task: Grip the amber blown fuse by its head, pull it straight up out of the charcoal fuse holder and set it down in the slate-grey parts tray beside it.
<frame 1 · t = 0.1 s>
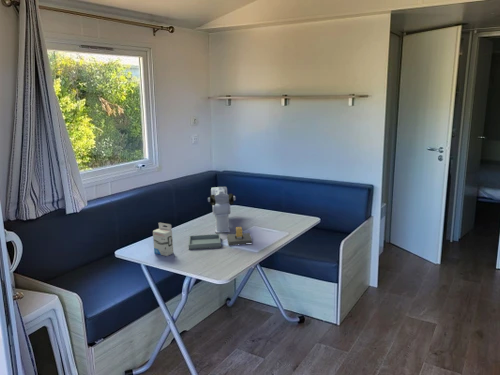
hand: (222, 201, 225), 22 cm above the table, tool horizontal, fingers open, 7 cm apart
fuse holder: (239, 240, 230), on the table
parts tray: (204, 243, 227), on the table
fuse: (239, 234, 229), in the fuse holder
ink box: (164, 253, 216), on the table
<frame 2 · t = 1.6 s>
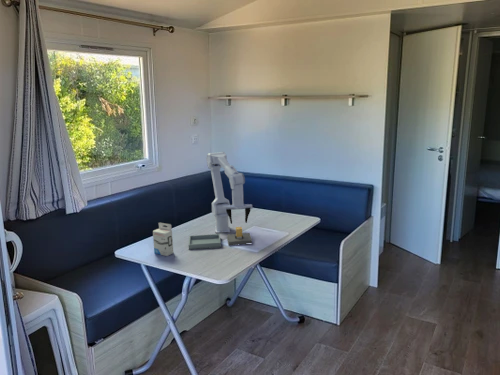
hand: (238, 222, 228), 10 cm above the table, tool pointing down, fingers open, 7 cm apart
nothing on the table moved.
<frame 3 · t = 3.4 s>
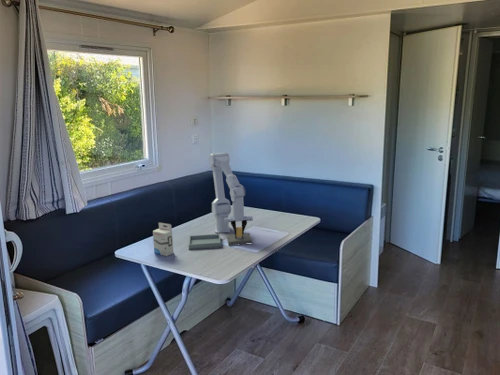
hand: (239, 234, 229), 3 cm above the table, tool pointing down, fingers closed on fuse, 3 cm apart
fuse: (239, 234, 229), in the fuse holder, touching gripper
everything else where it was.
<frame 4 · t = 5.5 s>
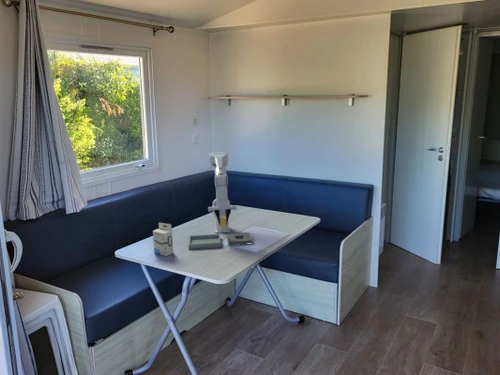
hand: (223, 223, 227), 10 cm above the table, tool pointing down, fingers closed on fuse, 3 cm apart
fuse: (223, 224, 227), point 10 cm above the table, touching gripper
everything else where it was.
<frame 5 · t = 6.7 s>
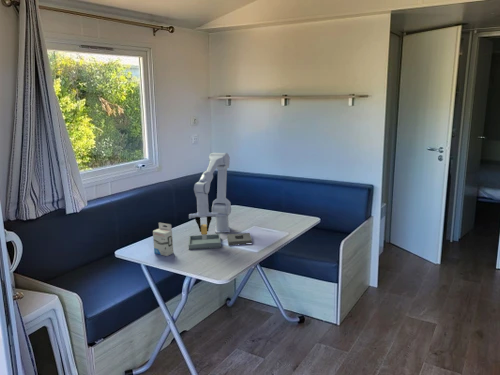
hand: (204, 231, 226), 7 cm above the table, tool pointing down, fingers closed on fuse, 3 cm apart
fuse: (204, 232, 225), point 6 cm above the table, touching gripper
everything else where it was.
when the fingers open (5 cm above the table, at t = 7.7 s): fuse stays where it is, resting on parts tray.
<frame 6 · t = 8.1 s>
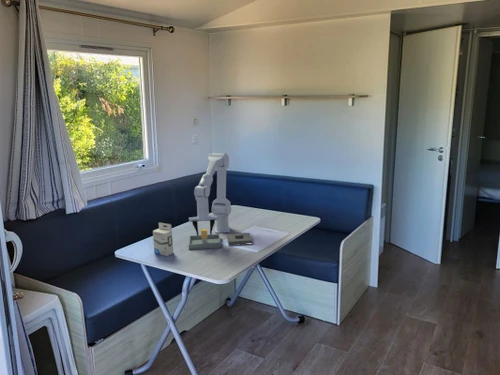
hand: (204, 234, 226), 5 cm above the table, tool pointing down, fingers open, 6 cm apart
fuse: (204, 236, 226), in the parts tray, point 4 cm above the table
everything else where it was.
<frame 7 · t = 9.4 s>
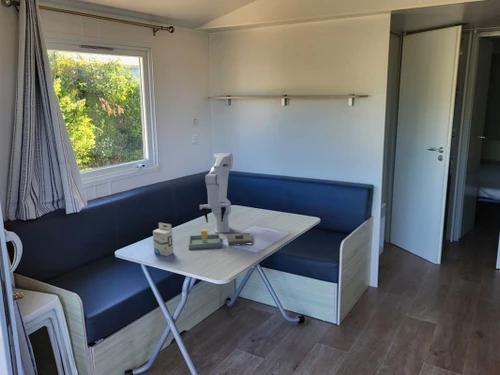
hand: (214, 221, 231), 10 cm above the table, tool pointing down, fingers open, 7 cm apart
nothing on the table moved.
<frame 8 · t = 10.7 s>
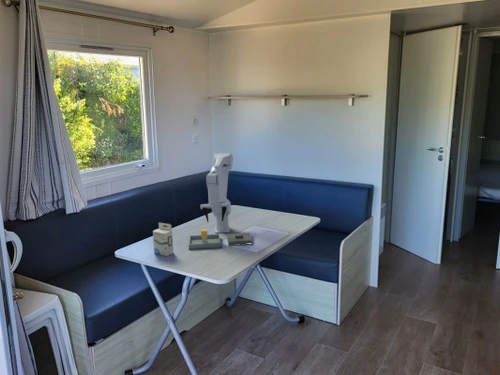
hand: (215, 221, 232), 10 cm above the table, tool pointing down, fingers open, 7 cm apart
nothing on the table moved.
at the end: fuse inside the target area on the parts tray (0.5 cm from its centre), point 4.1 cm above the parts tray's base; the gripper is holding nothing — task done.
